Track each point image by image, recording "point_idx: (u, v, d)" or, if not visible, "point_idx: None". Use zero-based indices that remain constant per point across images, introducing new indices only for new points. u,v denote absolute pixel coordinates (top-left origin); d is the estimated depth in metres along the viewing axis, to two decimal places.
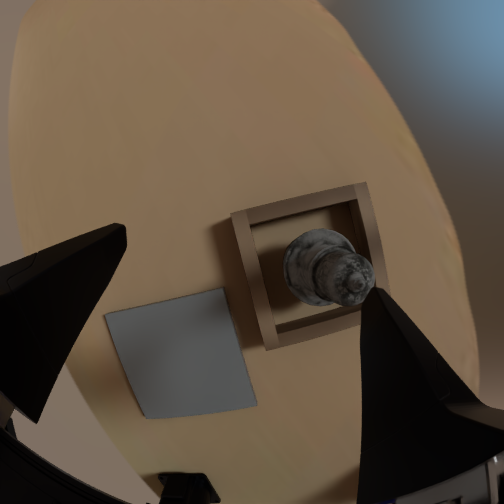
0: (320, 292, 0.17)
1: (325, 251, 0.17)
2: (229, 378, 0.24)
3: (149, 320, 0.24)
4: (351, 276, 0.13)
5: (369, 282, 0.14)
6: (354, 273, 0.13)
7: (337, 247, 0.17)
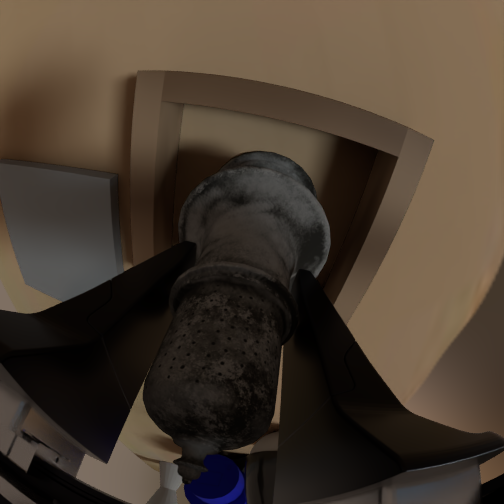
0: None
1: (223, 274, 0.07)
2: None
3: (28, 185, 0.14)
4: (184, 441, 0.04)
5: (235, 448, 0.05)
6: (196, 438, 0.04)
7: (257, 281, 0.07)
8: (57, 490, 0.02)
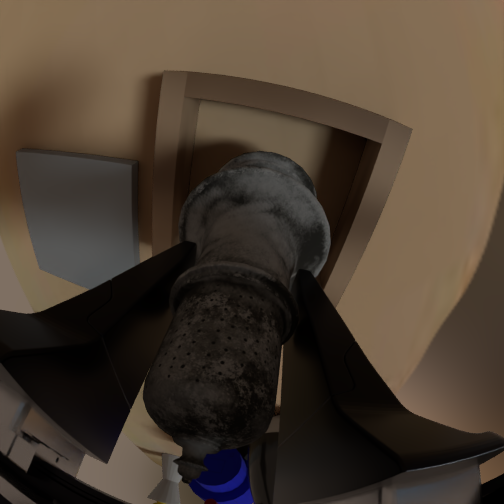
0: None
1: (223, 273, 0.07)
2: (116, 267, 0.20)
3: (50, 172, 0.16)
4: (184, 440, 0.04)
5: (235, 447, 0.05)
6: (196, 438, 0.04)
7: (257, 281, 0.07)
8: (57, 490, 0.02)
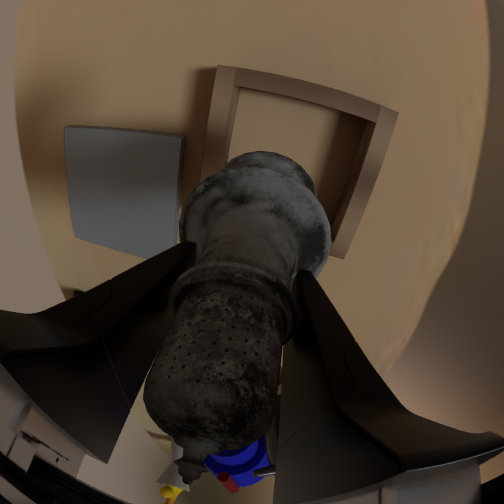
0: None
1: (224, 273, 0.07)
2: (156, 229, 0.24)
3: (101, 144, 0.20)
4: (185, 441, 0.04)
5: (235, 448, 0.05)
6: (197, 438, 0.04)
7: (258, 281, 0.07)
8: (57, 490, 0.02)
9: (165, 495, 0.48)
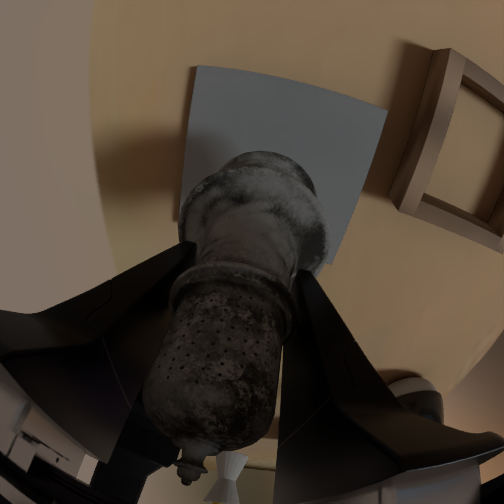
0: None
1: (223, 273, 0.07)
2: None
3: (266, 96, 0.15)
4: (184, 442, 0.04)
5: (235, 449, 0.05)
6: (196, 440, 0.04)
7: (257, 281, 0.07)
8: (57, 490, 0.02)
9: None
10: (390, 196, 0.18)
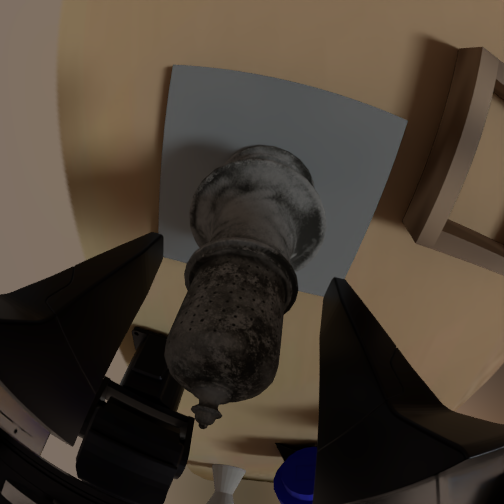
0: None
1: (233, 247, 0.08)
2: (328, 248, 0.16)
3: (257, 101, 0.12)
4: (202, 387, 0.06)
5: (244, 398, 0.06)
6: (212, 384, 0.06)
7: (263, 254, 0.08)
8: (10, 456, 0.02)
9: None
10: (405, 222, 0.15)
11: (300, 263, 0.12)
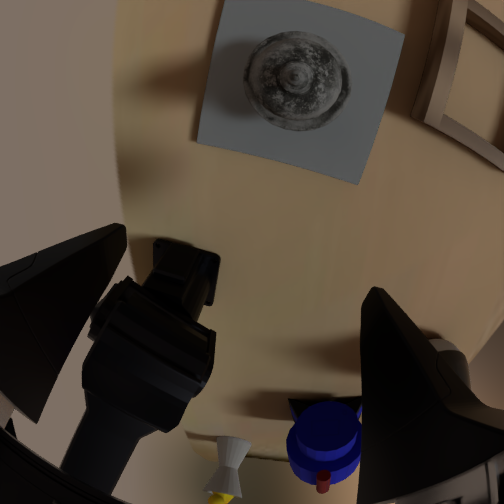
0: None
1: None
2: (351, 131, 0.17)
3: (292, 14, 0.13)
4: (291, 65, 0.06)
5: (321, 93, 0.07)
6: (299, 63, 0.06)
7: None
8: None
9: None
10: (413, 115, 0.16)
11: (334, 112, 0.13)
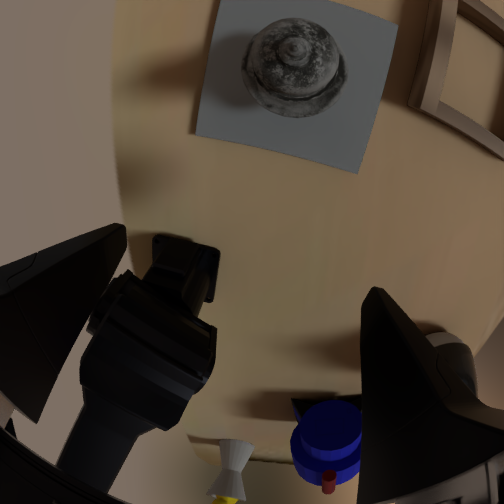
0: None
1: None
2: (349, 120, 0.17)
3: (288, 8, 0.13)
4: (290, 39, 0.06)
5: (319, 66, 0.07)
6: (298, 38, 0.06)
7: None
8: None
9: None
10: (409, 103, 0.16)
11: (331, 98, 0.13)
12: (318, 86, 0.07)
